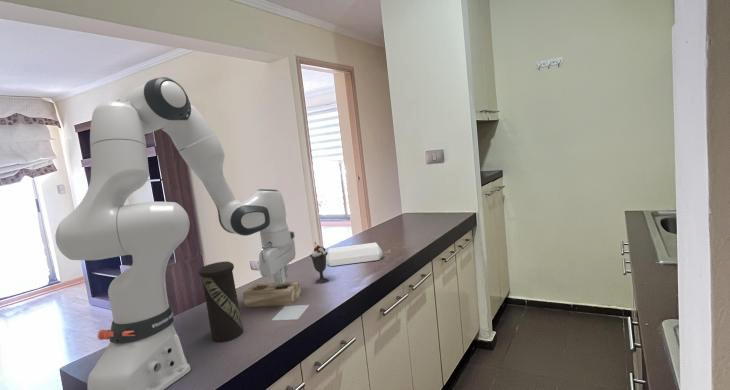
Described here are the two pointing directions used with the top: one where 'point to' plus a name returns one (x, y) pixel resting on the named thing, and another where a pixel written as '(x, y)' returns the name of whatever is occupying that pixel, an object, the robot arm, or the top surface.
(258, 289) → the socket block
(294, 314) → the mat
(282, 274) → the peg
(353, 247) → the crystal
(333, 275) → the top surface
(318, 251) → the sundae
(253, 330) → the top surface
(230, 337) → the container
